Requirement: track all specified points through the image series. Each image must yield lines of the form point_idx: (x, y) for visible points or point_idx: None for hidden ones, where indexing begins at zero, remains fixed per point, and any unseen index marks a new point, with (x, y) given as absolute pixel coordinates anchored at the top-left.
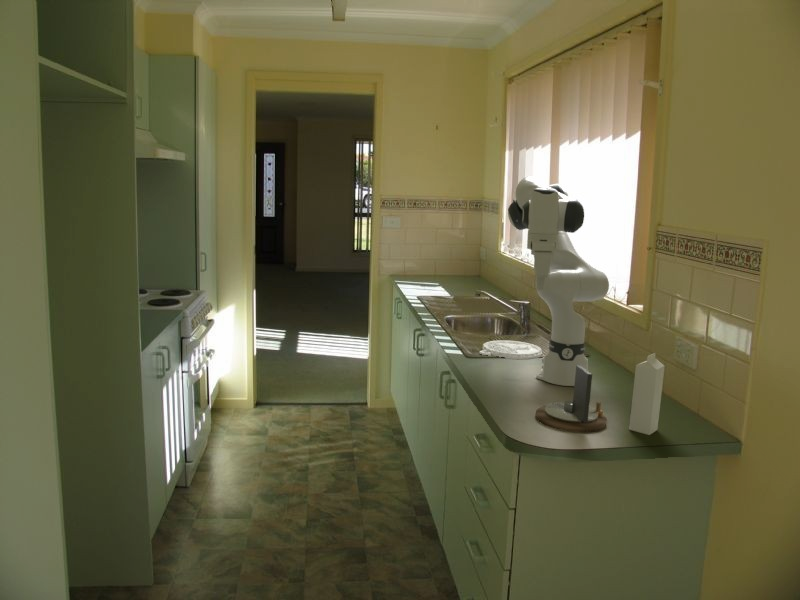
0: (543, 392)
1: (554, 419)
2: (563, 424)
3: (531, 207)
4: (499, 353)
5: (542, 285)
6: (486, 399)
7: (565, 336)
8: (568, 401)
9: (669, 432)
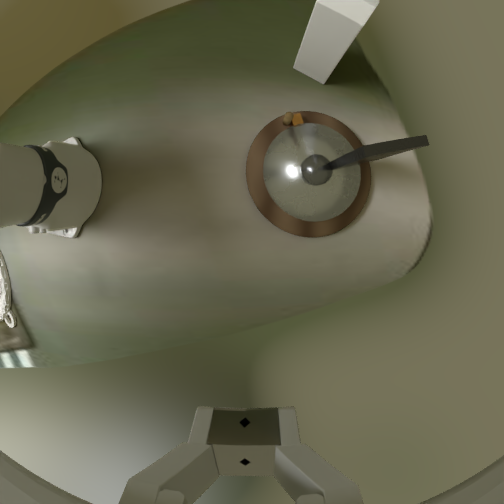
0: (150, 221)
1: None
2: (365, 191)
3: None
4: (6, 300)
5: (298, 443)
6: (236, 324)
7: (30, 188)
8: (305, 175)
9: None
